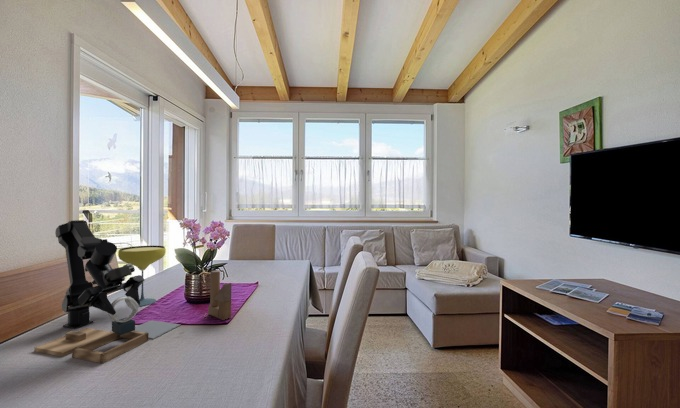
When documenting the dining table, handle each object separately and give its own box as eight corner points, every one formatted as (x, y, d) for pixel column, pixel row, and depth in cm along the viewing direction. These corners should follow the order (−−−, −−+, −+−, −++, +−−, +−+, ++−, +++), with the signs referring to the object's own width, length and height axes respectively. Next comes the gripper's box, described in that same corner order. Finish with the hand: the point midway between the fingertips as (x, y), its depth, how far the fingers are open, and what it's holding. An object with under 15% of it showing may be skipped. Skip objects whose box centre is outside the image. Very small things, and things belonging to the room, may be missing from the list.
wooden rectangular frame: (72, 357, 89) (72, 348, 89) (120, 335, 104) (120, 328, 104) (102, 363, 86) (102, 354, 86) (148, 340, 101) (148, 332, 101)
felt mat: (121, 334, 105) (121, 333, 105) (150, 321, 117) (150, 320, 117) (153, 339, 102) (153, 338, 101) (180, 325, 113) (180, 324, 113)
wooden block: (223, 320, 118) (223, 275, 118) (207, 314, 124) (208, 271, 124) (231, 317, 121) (232, 273, 121) (216, 312, 127) (216, 269, 127)
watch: (141, 328, 101) (141, 295, 101) (114, 337, 94) (114, 302, 94) (132, 324, 104) (132, 292, 104) (105, 333, 97) (105, 299, 97)
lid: (34, 351, 93) (34, 340, 93) (86, 331, 107) (86, 322, 107) (62, 356, 90) (62, 346, 90) (112, 335, 104) (112, 326, 104)
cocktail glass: (122, 299, 142) (122, 246, 142) (166, 294, 150) (166, 244, 150) (113, 312, 126) (114, 252, 126) (163, 306, 134) (164, 249, 134)
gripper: (85, 262, 91) (112, 303, 88) (141, 252, 109) (165, 286, 106) (65, 286, 93) (92, 326, 90) (123, 272, 111) (147, 305, 108)
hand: (127, 309), depth 98 cm, fingers closed on watch, 8 cm apart
